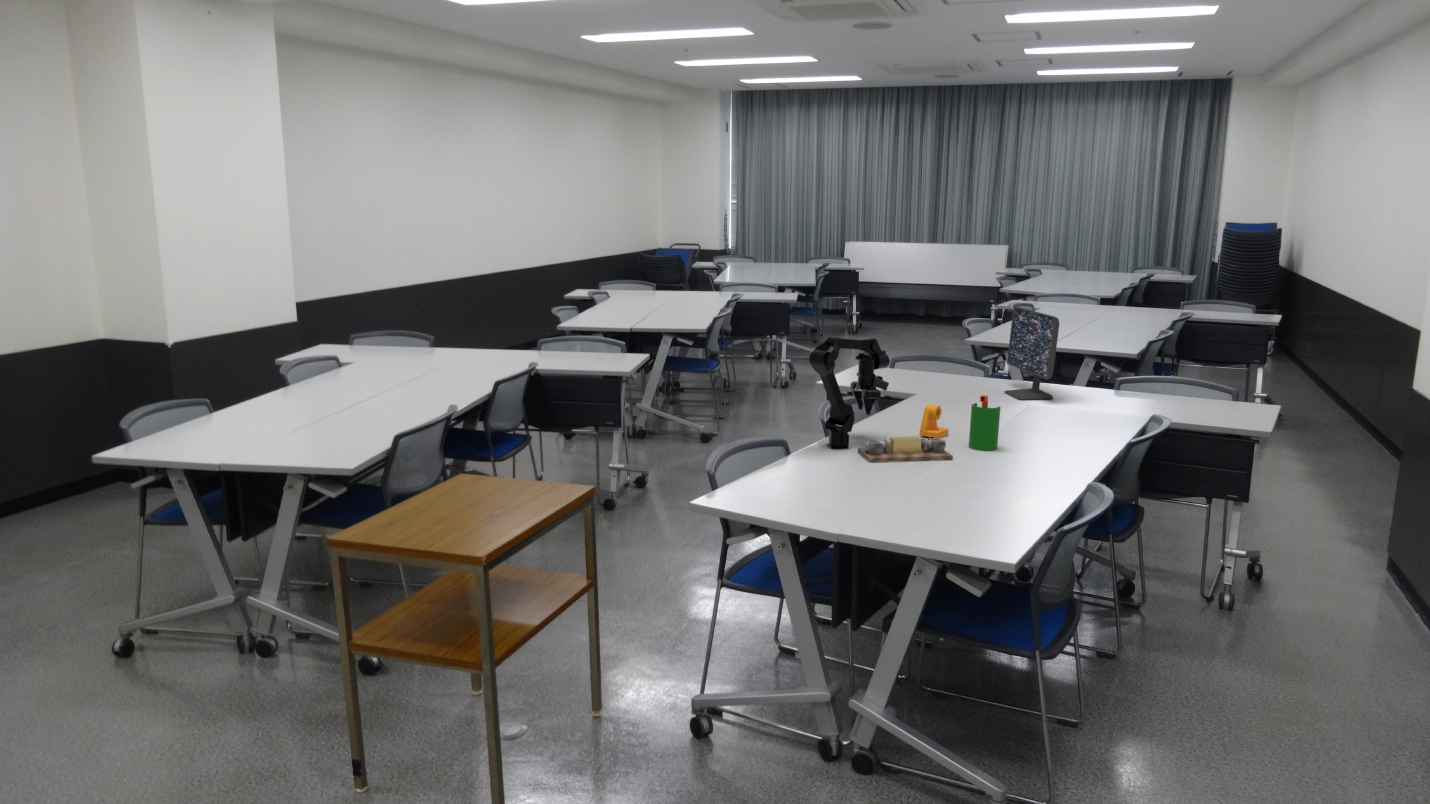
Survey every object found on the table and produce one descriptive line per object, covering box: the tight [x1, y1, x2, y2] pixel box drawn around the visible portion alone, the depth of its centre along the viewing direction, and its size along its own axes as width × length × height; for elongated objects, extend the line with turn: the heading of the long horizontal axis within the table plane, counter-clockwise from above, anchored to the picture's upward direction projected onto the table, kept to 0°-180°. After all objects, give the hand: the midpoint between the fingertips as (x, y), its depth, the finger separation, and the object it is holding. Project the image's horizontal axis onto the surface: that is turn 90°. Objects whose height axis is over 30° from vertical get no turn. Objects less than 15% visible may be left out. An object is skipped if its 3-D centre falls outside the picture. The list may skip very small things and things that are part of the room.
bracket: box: [919, 404, 950, 439], centre depth 364 cm, size 11×7×12 cm, turn 142°
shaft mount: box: [857, 437, 954, 463], centre depth 335 cm, size 30×14×6 cm, turn 99°
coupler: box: [889, 435, 922, 454], centre depth 335 cm, size 10×4×5 cm, turn 99°
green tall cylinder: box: [968, 394, 1001, 451], centre depth 347 cm, size 10×9×20 cm
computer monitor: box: [1003, 305, 1060, 401], centre depth 440 cm, size 44×16×40 cm, turn 6°
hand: (864, 412), depth 354 cm, fingers open, 9 cm apart
